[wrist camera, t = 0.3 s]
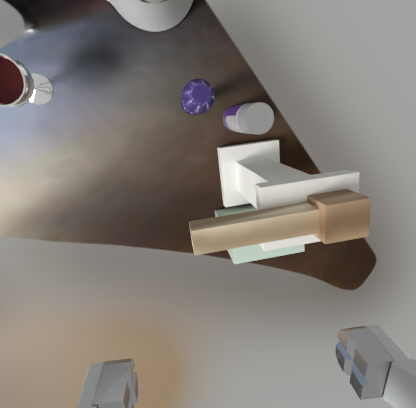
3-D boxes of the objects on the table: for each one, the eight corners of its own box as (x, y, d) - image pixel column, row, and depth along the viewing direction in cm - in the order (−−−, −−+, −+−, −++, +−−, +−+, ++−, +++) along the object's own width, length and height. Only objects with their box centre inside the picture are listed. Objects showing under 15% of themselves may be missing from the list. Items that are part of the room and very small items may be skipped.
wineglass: (57, 113, 49) (25, 112, 38) (15, 105, 48) (-32, 100, 37) (60, 73, 48) (27, 58, 36) (16, 62, 46) (-32, 44, 35)
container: (241, 101, 53) (268, 95, 39) (249, 125, 55) (279, 127, 41) (219, 112, 53) (238, 109, 39) (228, 135, 55) (250, 140, 41)
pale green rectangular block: (214, 210, 59) (231, 242, 44) (268, 201, 60) (304, 229, 45) (216, 227, 60) (234, 264, 45) (269, 218, 61) (304, 251, 46)
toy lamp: (178, 114, 52) (184, 112, 37) (177, 88, 51) (183, 74, 35) (203, 115, 53) (220, 113, 37) (203, 88, 52) (221, 75, 36)
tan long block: (187, 214, 31) (191, 228, 27) (347, 188, 33) (370, 197, 29) (193, 250, 32) (196, 267, 28) (345, 223, 34) (368, 236, 30)
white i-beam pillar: (217, 147, 55) (259, 170, 31) (275, 139, 56) (360, 155, 32) (223, 204, 59) (265, 265, 34) (277, 195, 60) (355, 248, 36)
